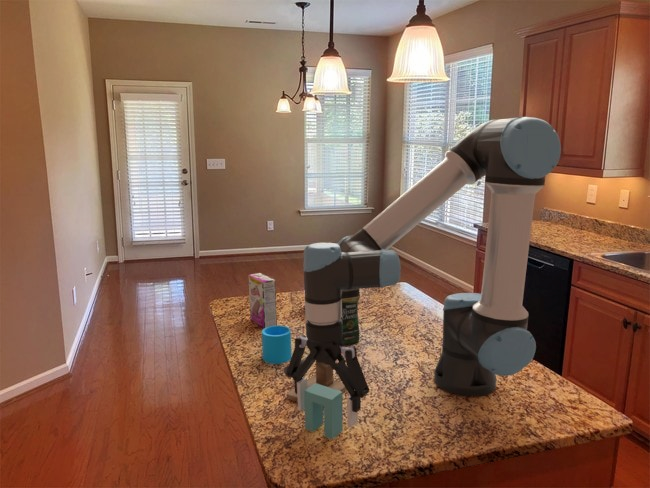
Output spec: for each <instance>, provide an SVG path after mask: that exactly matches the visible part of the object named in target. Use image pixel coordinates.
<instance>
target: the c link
mask: <svg viewBox="0 0 650 488" xmlns="http://www.w3.org/2000/svg"><path fill="white" fill-rule="evenodd" d="M304 397H305V408H304V429H305V430H307V431H308V432H309V431H310V432H312V433H314V432H315V431H316V430H317V429H318V428H320V426H322V425H323V428H324V429H323V435H324V437H325V438H327V439H330V440H334V438H336V437H337V436H338V435H339V434H340V433H341V432H343V430H344V429H343V425H344V424H343V423H344V421H343V418H344V417H343V415H344V414H343V411H344V410H343V407H344V406H343V404H344V402H343V398H344V397H343V393H342V391H339V390H336V389H333V388H329V387H326V386H323V385H320V384H317V383H315V384H313V385H312V386H310V387H309V388H307V389H306V390H304ZM323 406H324V408H323Z"/></svg>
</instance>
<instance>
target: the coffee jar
mask: <svg viewBox="0 0 650 488" xmlns="http://www.w3.org/2000/svg"><path fill="white" fill-rule="evenodd" d="M360 298H361V293H360V289H349V290H342V317H341V320H342V323H343V336H342V344H343V346H346V345H352V344H356V343H358V342H359V341H360V339H361V337H360V336H361V334H360V326H359V324H360V323H359V313H358V312H359V311H358V309H359V308H358V305H359V300H360Z"/></svg>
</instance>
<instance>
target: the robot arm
mask: <svg viewBox="0 0 650 488" xmlns="http://www.w3.org/2000/svg"><path fill="white" fill-rule="evenodd" d="M561 147H562V146H561V140H560V136H559V134H558V132H557V130H555V129H554V127H553V126H552V125H551V124H550V123H549V122H547V121H546V120H544V119H541V118H537V117H529V116H521V117H520V116H517V117H510V118H497V119H490V120H489V121H486V122H483V123H482V124H480V125H479V126H478V125H477V126H476V127H475V128H474V129H473V130H472V131H470V132H468V134H466V135H465V136H464V137H462V138H461V139H460V140H458V142H457V143H455V144H454V145H453V146H452V147H451V148H450V149H448V150H447V151H445V154H444V159H443V160H442V161H441V162H440V163H438V164H437V165H435V167H433V169H431V170H430V171H429V172H427V174H426V175H424V176H423V177H421V179H420V180H418V181H417V182H416V183H414V184H413V185H412V186H411V187H410V188H408V189H407V190H406V191H405V192H404V193H403V194H402V195H400V196H399V197H398V198H397V199H395V200H394V201H393V202H392V203H391V204H390V205H388V206H387V207H386V208H385V209H384V210H383V211H381V212H380V213H379V214H378V215H377V216H375V217H374V218H373V219H372V220H370V221H369V222H368V223H367V224H365V225H364V226H363V227H362V228H361V229H360V230H358V231H356V233H354V234H353V235H346V236H344V237H342V238H340V240H339V241H338V242H337V243H334V242H316V243H315V242H314V243H310V244H309V245H307V246H305V248H304V249H303V266H302V271H303V286H304V287H303V290H304V315H305V316H304V317H305V320H306V321H305V334H302V335H300V336H298V337H296V338H295V339H294V349H293V352H292V354H291V359H290V360H289V363H288V365H287V366H288V369H287V372H286V375H287V376H288V377H290V376H291V378H292V380H293V382H294V388H295V393H296V394H297V397H298V402H297V410H298V412H301V411H303V410H305V397H304V390H306V389H307V380H308V378H307V377H305V376H306V374H307V373H308V371H309V370H310V368H311V367H312V366H313V365H314V363H316V361H317V362H319V363H324V364H327V365H330V366H331V367H332V369H333V371H335V372H336V374H337V376H338V378H339V379H340V382H342V383H343V384H344V386H345V388H346V389H347V390H346V391H347V393H348V394H349V395H348V396H347V397H346V400H347V401H346V402H347V403H346V404H347V405H346V409H347V410H346V411H347V427H348V428H349V429H352V428H353V427H354V426H356V424H357V423H358V422H359V419H358V413H359V411H360V410H361V408H362V405H361V399H363V398H364V397H365V396H366V395H367V394H369V392H370V388H369V385H368V383H367V380H366V378H365V375H364V373H363V370H362V367H361V364H360V361H359V360H358V359H359V358H358V355H357V354H358V352H357V348H356V346H354V345H352V346H351V347H346V346H345V345H343V344H342V336H343V323H342V320H341V317H342V290H349V289H359V290H361V289H373V288H374V289H375V288H384V287H391V286H396V285H397V284H398V283H399V281H400V280H401V271H402V267H401V266H402V265H401V260H400V257H399V254H398V253H397V252H396V250H393V249H390V248H391V247H392V246H393V245H395V244H396V243H397V242H398V241H400V240H401V239H402V238H403V237H404V236H406V235H407V234H408V233H409V232H411V231H412V230H413V229H414V228H415V227H416V226H418V225H419V224H420V223H421V222H422V221H423V220H424V221H425V219H426V218H427V217H429V216H430V215H431V214H432V213H434V211H436V210H437V209H438V208H439V207H441V206H442V205H443V204H444V203H445V202H446V201H448V200H449V199H450V198H452V196H454V195H455V194H457V193H458V192H459V191H460V190H461V189H462V188H463V187H464V186H466V185H474V184H475V183H476V182H477V181H479V180H480V179H481V178H484V177H485V178H484V179H485V180H484V184H485V185H486V186H487V187H488V189H489V190H490V193H491V195H490V202H489V203H490V204H489V212H488V213H489V214H488V222H487V223H488V225H487V234H486V245H485V252H484V263H483V274H482V284H481V291H480V292H481V293H477V292H460V293H459V292H458V293H452V294H450V295H448V296H446V298H445V299H444V302H443V308H442V312H443V313H442V314H443V316H442V317H443V319H442V320H443V322H442V323H443V324H442V349H441V353H440V356H439V358H438V360H437V364H436V365H435V368H434V371H433V373H434V376H433V377H434V378H433V380H434V383H435V385H436V386H437V387H439V388H440V389H441V390H443V391H445V392H447V393H450V394H452V395H456V396H462V397H470V398H471V397H473V398H474V397H483V396H486V395H490V394H491V393H493V392H494V391H495V390H496V387H497V376H501V377H508V376H509V377H510V376H512V375H516V374H518V373H519V372H522V370H523V369H524V368H527V366H529V364H530V363H531V361H533V359H534V357H535V353H536V349H537V345H536V344H537V343H536V340H535V338H534V336H533V334H532V333H531V332H530V331H529V330H528V323H529V322H528V321H529V311H527V309H526V308H525V306H524V305H523V300H524V292H525V285H526V284H525V283H526V273H527V267H528V266H527V265H528V259H529V251H530V243H531V231H532V225H533V224H532V223H533V218H534V217H533V216H534V207H535V200H536V194H538V193H539V191H541V190H542V189H543V188H545V183H546V177H547V175H548V174H550V173H551V172H552V171H553V169H554V168H556V167H557V165H558V163H559V161H560V158H561V153H562V148H561ZM306 347H307V348H308V350H309V353H308V355H307V356H306V357H305V358H306V360H305V361H304V363H303V364H302V365H301V367H300V368H299V369H298V367H299V365H300V362H301V360H303V356H304V353H305V350H306V349H307V348H306ZM337 361H338V362H337ZM297 370H298V371H297ZM286 375H285V376H286ZM287 376H286V377H287ZM288 377H287V378H288Z"/></svg>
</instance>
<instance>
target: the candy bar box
mask: <svg viewBox="0 0 650 488" xmlns="http://www.w3.org/2000/svg"><path fill="white" fill-rule="evenodd" d="M247 278H248V279H247V280H248V284H247V285H248V296H249V299H248V301H249V316H250V317H249V319H250V321H252V322H253V323H255V324H256V325H258V326H259V327H260V328H262V329H265V328H267V327H270V326H278V317H277V297H276V296H277V295H276V294H277V290H276V279H273V278H271V277H270V276H268V275H265V274H263V273H261V272H256V273H251V274H248V275H247Z"/></svg>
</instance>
